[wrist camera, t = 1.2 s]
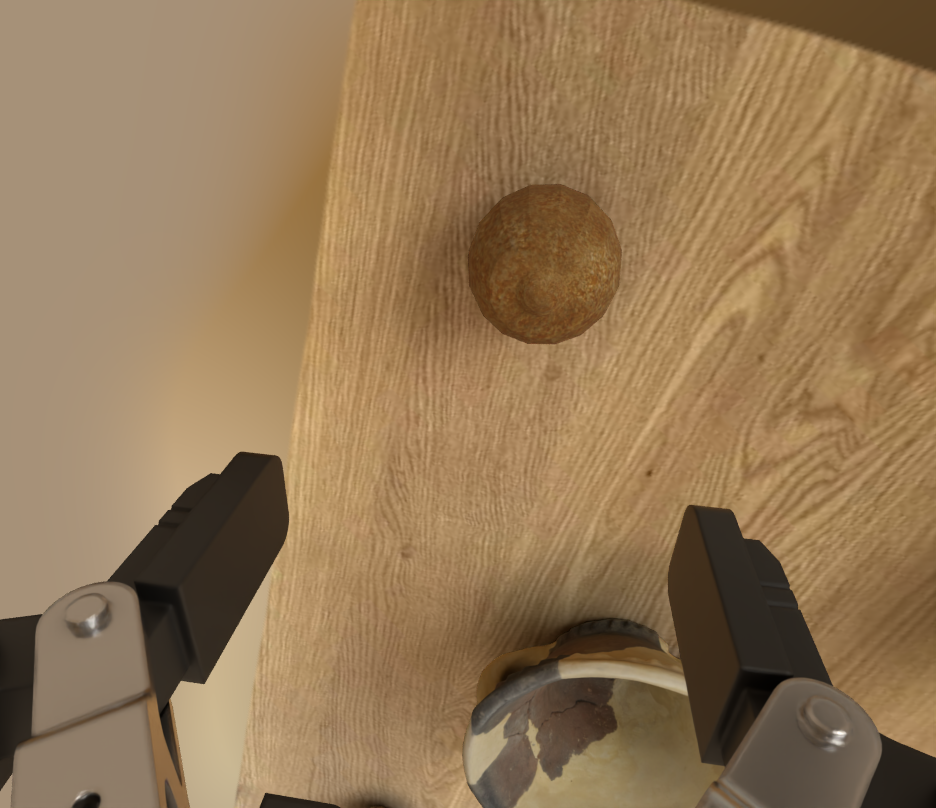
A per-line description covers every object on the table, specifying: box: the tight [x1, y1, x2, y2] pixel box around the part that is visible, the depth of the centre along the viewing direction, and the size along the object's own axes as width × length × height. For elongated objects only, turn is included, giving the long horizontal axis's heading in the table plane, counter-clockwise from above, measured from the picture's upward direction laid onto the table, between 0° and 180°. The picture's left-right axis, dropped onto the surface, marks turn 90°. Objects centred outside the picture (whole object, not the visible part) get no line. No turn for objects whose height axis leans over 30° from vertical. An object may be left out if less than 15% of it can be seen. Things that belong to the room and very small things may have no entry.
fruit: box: [468, 184, 622, 344], centre depth 25 cm, size 6×6×8 cm
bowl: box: [462, 619, 725, 808], centre depth 37 cm, size 18×18×10 cm
